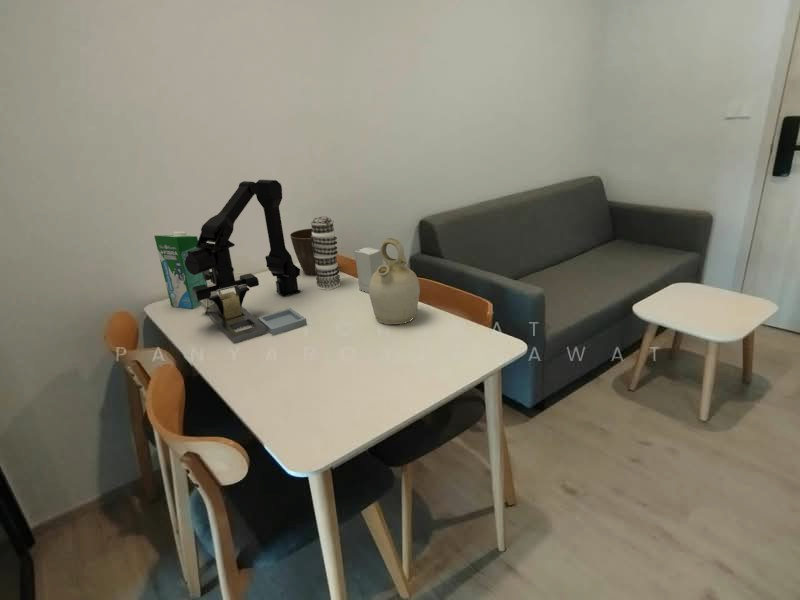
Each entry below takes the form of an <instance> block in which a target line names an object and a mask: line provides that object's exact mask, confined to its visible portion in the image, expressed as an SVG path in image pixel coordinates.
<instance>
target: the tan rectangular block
mask: <svg viewBox="0 0 800 600" xmlns="http://www.w3.org/2000/svg"><path fill="white" fill-rule="evenodd" d="M218 296H219V297H220V301H221V305H222V308H223V315H222V314H221V318H222V319H223V320H224V321H227V320H231V319H234V318H238V317H241V316H242V312H241V306H240V301H239V296H238V295H237V294H236V292H235V291H230V292H226V293H222V294H221V295H218Z"/></svg>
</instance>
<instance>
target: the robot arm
mask: <svg viewBox="0 0 800 600" xmlns="http://www.w3.org/2000/svg"><path fill="white" fill-rule="evenodd" d="M254 196H256V200H257V201H258V203H259V205H261V207H262V208H263V213H264V218H265V224H266V231H267V235H268V236H267V237H268V242H269V248H270V251H269V253H268V255H266V256H265V257H264V258H265V261H266V268H267V269H268V271H269V272H270V273H271V275H272V276H273V277H276V280H275V285H276V292H277V293H278V294H279V295H281V296H282V297H287V296H291V295H294V294H299V293H301V289H299V285H298V279H297V278H298V277H299V276H300V274H301V269H300V268H299V267H298V266H297V265H296V264H294V261H293V258H292V255H291V253H290V252H289V251H288V250H287V248H286V244H285V243H286V242H285V237H284V230H283V225H282V218H281V212H280V205H281V203H282V200H283V187H282V184H281V182H279V181H278V180H276V179H258V180H257V181H256V182H255V181H246V180H243V181H242V182H241V181H240V182H239V183H238V187H237V189H236V190H235V191H234V193H233V194H232V195H231V196H230V198H229V199H228V201H227V202H226V203H225V205H224V206H223V208H222V209H221V210H220V212H219V213H217V214H216V215H213V216H212V217H210V218H209V219H208V220H207V221H206V222H204V223H203V225H202V226H201V228H200V234H199V237H198V243H197V245H196V248H198V249H195V250H190V251H188V256H187V257H186V259H185V266H186V268H187V270H188V271H189V272H190V273H191V274H193V275H197V274H199V273H203V277H204V280H205V281H210V282H211V283H212V284H213V285H211V286H208V285H207V286H208V287H207V286H206V285H205V284H203V285H199V286H195V287H193V288H192V294H193V296H194V297H195V298H196V299H197V300H204V299H209V300H213V302H214V303H215V305H216V306H217V308H218V310H219V311H220V313H221V314H222V315H223V308H222V305H221V301H220V297H219V296H218V295H217V293H216V292H217V291H220V292H221V291H225V290H229V289H234V292H235V293H236V294H237V295H238V296H239V301H240V306H242V307H243V302H244V299H245V296H246V294H247V292H249V291H250V288H255V287H257V286H259V285H260V283H259V281H260V280H259V279H258V277H257V276H255V275H254V274H252V273H251V272H249V273H245V274H243V275H241V274H240V276H239V279H235V273H234V272H235V268H234V267H233V263H232V257H231V252H230V248H233V247H235V245H236V244H235V243H233V242H232V241H230V238H231V237H232V234H233V232H234V225H235V222H236V221H237V220H238V218H239V216H240V215H241V213H242V212H243V211H244V210H245V208H246V207H247V205H248V204H249V202H250V201H251V200H252V198H253V197H254Z"/></svg>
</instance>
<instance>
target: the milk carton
mask: <svg viewBox="0 0 800 600" xmlns="http://www.w3.org/2000/svg"><path fill="white" fill-rule="evenodd" d="M154 240H155V245H156V249H157V253H158V256H159V257H158V258H159V260H160V266H161V269H162V272H163V273H162V274H163V277H164V282H165V286H166V290H167V294H168V298H169V304H170V306H174V307H173V308H179V307H182V308H181V309H188V308H189V309H190V310H193V308H194V309H195V308H197V307H199V306H202V305H201V303H200V302H197V301H198V300H197V299H196V298H195V297H194V296H193V294H192V288H193V287H195V286H199V285H203V284H205V285H206V286H207V287H209V286H208V282H207V281H208V280H207V281H205V280H204V277H203V273H199V274H197V275H193V274H191V273H190V272H189V271H188V270H187V268H186V266H185V259H186V257H187V256H188V251H190V250H195V249H198V248H196V245H197V243H198V240H199V237H198V236H196V235H187V232H186V231H173V235H172V234H171V235H168V234H167V235H164V234H163V235H161V234H160V235H159V234H158V235H157V234H156V235H154ZM199 301H200V300H199ZM189 309H188V310H189Z"/></svg>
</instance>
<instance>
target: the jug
mask: <svg viewBox="0 0 800 600" xmlns="http://www.w3.org/2000/svg"><path fill="white" fill-rule="evenodd" d="M388 245H392V246H394V247H395V250H396V251H397V258H392V257H390V256H389V255H388V253H387V247H388ZM379 250H380V253H381V256H382V260H383V261H384V262H385V263H386V264H383V265H381V266H379V267H378V269H377V271H376V272H375V273H374V274H373V275H372V277H371V280H370V283H369V293H368V294H369V299H370V304H371V307H372V310H373V314H374V316H375V320H376V319H377V320H376V321H377V322H378V321H379V322H378V323H380V322H381V323H380V324H383V323H384V324H383V325H387V324H400V325H402V324H401V323H405V322H408V321H410V320H411V319H412V318H414V316H415V317H416V314H417V310H418V304H419V301H420V300H419V299H420V294H421V286H420V280H419V279H418V277H417V274H416V272H414V271H413V270H412V269H411V268H409V267H407V266H406V265H407V264H408V262H407V258H406V255H405V249H404V246H403V244H402V243H401V242H400V241H399V240H398V239H396V238H392V237H391V238H386V239H385V240H384V241H382V243H381V245H380V249H379ZM414 319H415V318H414ZM410 322H411V321H410ZM408 323H409V322H408ZM405 324H406V323H405Z"/></svg>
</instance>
